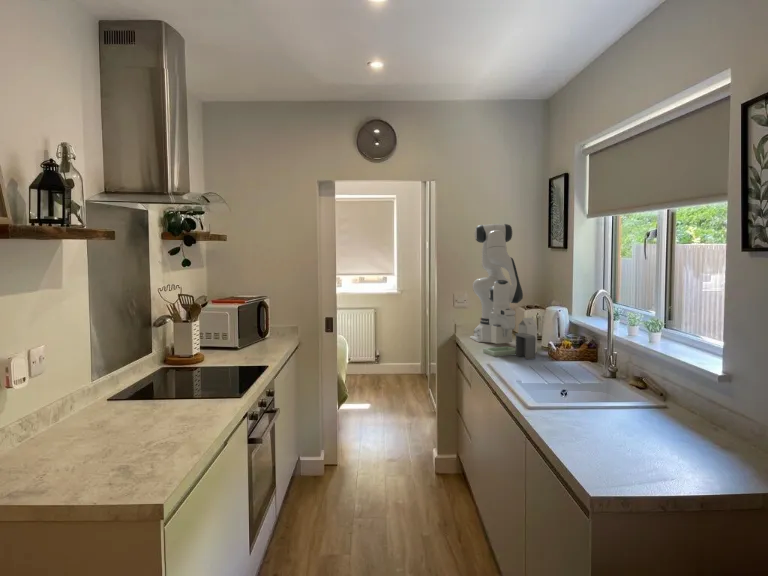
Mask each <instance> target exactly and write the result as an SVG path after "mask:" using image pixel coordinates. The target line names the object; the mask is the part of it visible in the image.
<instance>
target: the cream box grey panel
mask: <svg viewBox="0 0 768 576" xmlns="http://www.w3.org/2000/svg"><path fill="white" fill-rule="evenodd" d="M503 333H504V328H501V325H498V324H493V326H491V342H490V343H491V344H492V343H493V344H496V345H498V344H508V343H513V329H512V330H508V333H507V337H504V336H503Z"/></svg>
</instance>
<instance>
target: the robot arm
mask: <svg viewBox="0 0 768 576" xmlns="http://www.w3.org/2000/svg"><path fill="white" fill-rule="evenodd" d="M513 232H514V230H513V228H512V226H511V224H507V223H502V224H501V223H490V224H479V225H477V226H476V227H475V229H474V233H473V235H474V238H475V241H476V242H477V243H481V244H482V249H481V266H482V269H483V270H485V271H486V273H487V275H488V276H486V277H480V278H477V279H475V280H474V281H473V282H472V290H473V292H474V294H475V295H476V296H477V297H478V299H479V301H480V304H481V317H480V318H479V320H480V321H479V324H478V325H477V326H476V327H475V328H474V329H473V335H471V336H469V338H470V339H472V340H473V341H475V342H478V343H492V342H491V326H493V324H498V325H501V328H504V333H503V336H504V337H507V333H508V330H512V331H513V330H515V328H516V317H515V316H516V310H514V309H513V308H512V307H511V304H518V303H520V302H521V301H522V300H523V299H524V297H523V296H524V293H523V292H524V291H523V289H522V285H521V283H520V279H519V278H520V277H519V276H518V275H519V274H518V271H517V270H518V269H517V267H516V263H515V261H514V260H515V259H514V258H513V257H511V256H510V254H509V253H508V250H507V243H508V242H509V241H511V240H512V238H513V236H514V235H513V234H514V233H513ZM502 268H503V269H504V270H506V271H507V272H508V275H509V277H510V281H509V279H508V278H507V277H506V276H505V275H504V272H503V269H502ZM510 282H511V283H510Z"/></svg>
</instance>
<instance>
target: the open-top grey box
mask: <svg viewBox="0 0 768 576" xmlns="http://www.w3.org/2000/svg"><path fill="white" fill-rule="evenodd" d="M514 336H515V349H516V354H515V357H520V356H525V360H532V359H534V360H535V359H536V352H535V341H536V337H535V336H534V335H530V334H527V333H514Z"/></svg>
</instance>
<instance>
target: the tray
mask: <svg viewBox="0 0 768 576" xmlns="http://www.w3.org/2000/svg"><path fill="white" fill-rule="evenodd" d="M482 353H483V354H486V355H488V356H491V357H503V356H504V357H505V356H514V355H515V356H516V347H512V346H508V345H507V346H496V347H484V348H482Z"/></svg>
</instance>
